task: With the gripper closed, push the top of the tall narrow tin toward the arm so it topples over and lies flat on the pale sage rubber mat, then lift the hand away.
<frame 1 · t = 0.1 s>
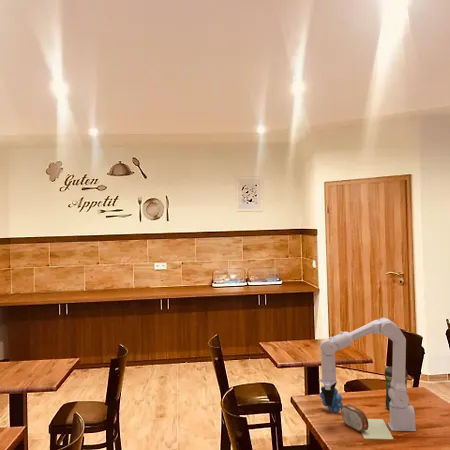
hand: (329, 402, 202), 10 cm above the table, tool pointing down, fingers open, 7 cm apart
tin: (354, 428, 199), on the table, touching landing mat
grapes: (330, 412, 218), on the table
coffee jar: (397, 409, 220), on the table
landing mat: (373, 429, 198), on the table
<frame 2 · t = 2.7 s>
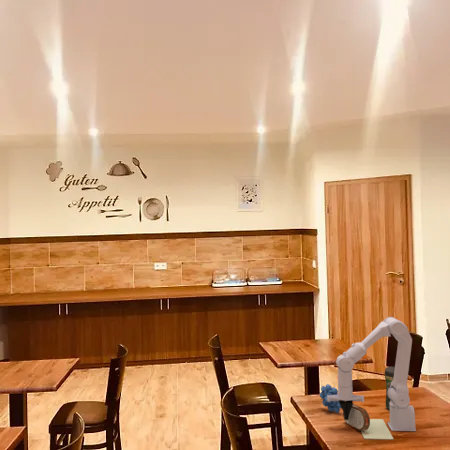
hand: (346, 418, 200), 4 cm above the table, tool pointing down, fingers closed
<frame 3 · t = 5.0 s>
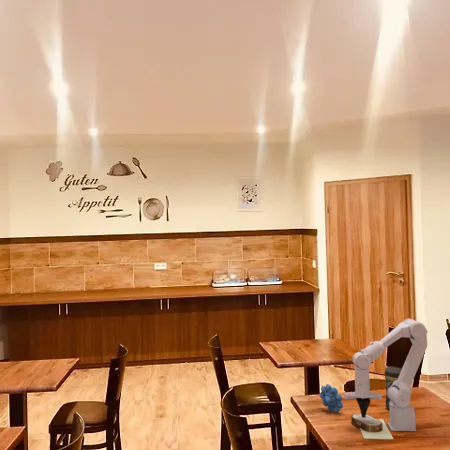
hand: (363, 416, 199), 5 cm above the table, tool pointing down, fingers closed
tin: (357, 423, 200), point 2 cm above the table, touching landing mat
everything else where it was.
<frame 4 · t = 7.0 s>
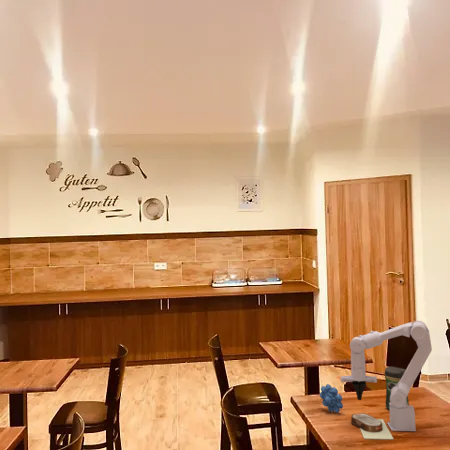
hand: (359, 399, 205), 10 cm above the table, tool pointing down, fingers closed
nothing on the table moved.
at the end: tin tilted 94°; tin touching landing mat; tin inside the target area (1.0 cm from its centre), point 1.9 cm above the table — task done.
